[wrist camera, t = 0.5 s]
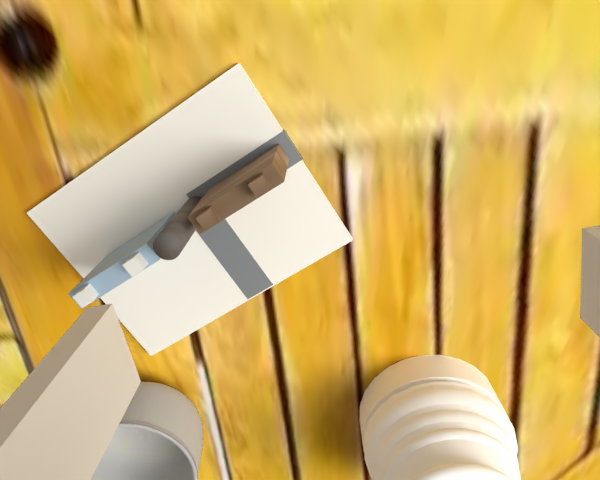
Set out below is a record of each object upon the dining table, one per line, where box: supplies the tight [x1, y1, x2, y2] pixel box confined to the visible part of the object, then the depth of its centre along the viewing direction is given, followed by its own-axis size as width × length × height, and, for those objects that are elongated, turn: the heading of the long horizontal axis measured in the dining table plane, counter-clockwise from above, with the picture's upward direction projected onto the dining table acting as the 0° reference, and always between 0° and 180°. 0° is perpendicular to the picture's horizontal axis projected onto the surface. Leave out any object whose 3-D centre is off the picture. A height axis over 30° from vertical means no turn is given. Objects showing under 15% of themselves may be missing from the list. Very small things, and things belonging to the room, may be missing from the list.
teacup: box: [91, 382, 203, 480], centre depth 44 cm, size 14×11×8 cm
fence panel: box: [68, 211, 176, 309], centre depth 36 cm, size 1×7×8 cm, turn 123°
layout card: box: [27, 63, 353, 356], centre depth 40 cm, size 16×21×1 cm
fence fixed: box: [153, 144, 289, 260], centre depth 34 cm, size 2×9×9 cm, turn 123°
